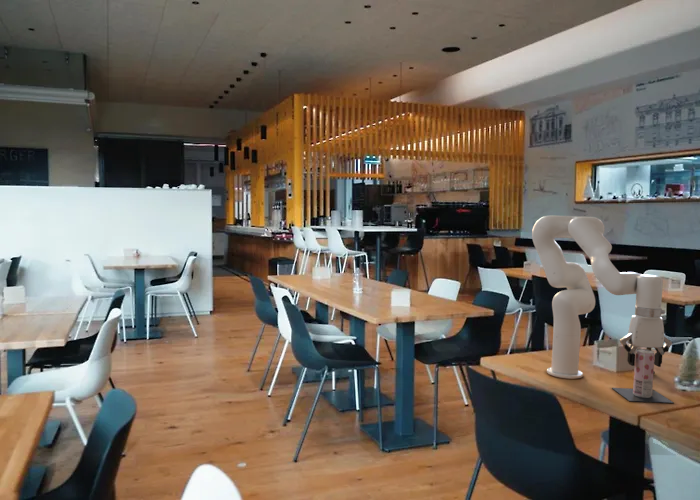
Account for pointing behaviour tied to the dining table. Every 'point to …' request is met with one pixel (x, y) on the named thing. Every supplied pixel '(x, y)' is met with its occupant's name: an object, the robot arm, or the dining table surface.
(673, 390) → the dining table surface
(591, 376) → the dining table surface
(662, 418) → the dining table surface
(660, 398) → the mat
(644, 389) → the beverage can
